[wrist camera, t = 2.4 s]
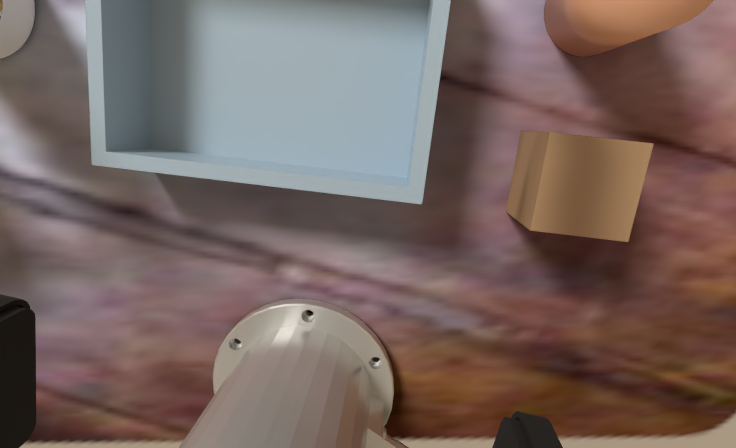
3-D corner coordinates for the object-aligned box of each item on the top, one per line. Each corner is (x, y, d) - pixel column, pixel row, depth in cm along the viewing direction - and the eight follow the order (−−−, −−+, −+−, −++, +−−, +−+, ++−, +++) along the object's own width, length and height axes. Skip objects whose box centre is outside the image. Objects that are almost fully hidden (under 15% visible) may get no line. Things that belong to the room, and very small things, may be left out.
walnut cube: (604, 140, 26) (653, 143, 21) (585, 220, 27) (628, 242, 22) (520, 130, 26) (550, 132, 21) (505, 211, 27) (530, 230, 22)
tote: (450, -51, 24) (464, -97, 19) (417, 190, 27) (422, 204, 22) (142, -81, 24) (79, -132, 19) (145, 158, 27) (91, 165, 23)
